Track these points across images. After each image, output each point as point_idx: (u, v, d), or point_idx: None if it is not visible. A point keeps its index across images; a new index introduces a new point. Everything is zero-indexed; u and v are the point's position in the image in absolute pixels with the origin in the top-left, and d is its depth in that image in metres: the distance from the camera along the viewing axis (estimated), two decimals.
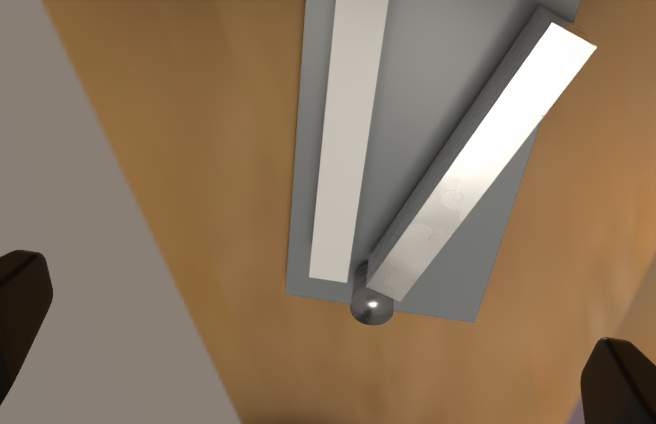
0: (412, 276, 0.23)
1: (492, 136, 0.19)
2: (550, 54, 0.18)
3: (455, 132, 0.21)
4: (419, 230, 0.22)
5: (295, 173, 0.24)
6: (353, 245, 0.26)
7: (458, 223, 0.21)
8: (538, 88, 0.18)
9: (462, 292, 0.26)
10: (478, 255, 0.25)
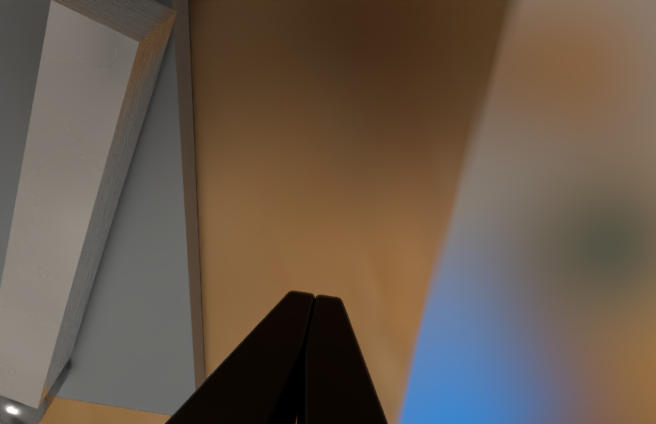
0: (36, 377, 0.16)
1: (47, 185, 0.12)
2: (72, 54, 0.10)
3: None
4: (14, 317, 0.15)
5: None
6: None
7: (61, 309, 0.14)
8: (79, 110, 0.11)
9: (167, 382, 0.19)
10: (168, 337, 0.18)
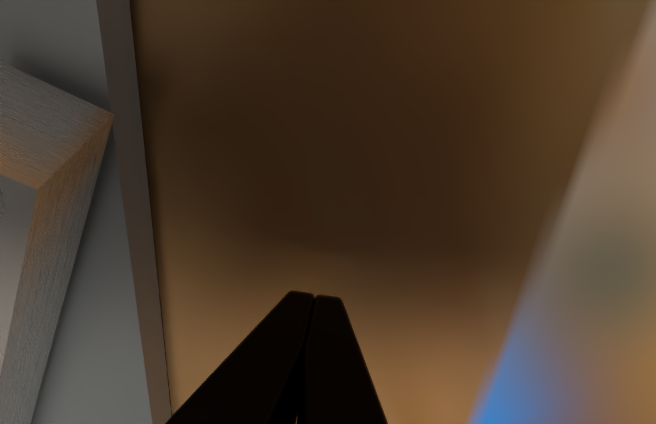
0: None
1: None
2: None
3: None
4: None
5: None
6: None
7: None
8: None
9: None
10: None
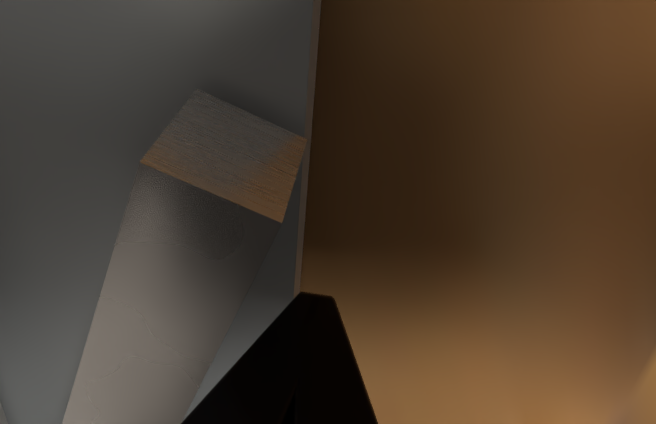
0: None
1: (115, 396, 0.08)
2: (168, 237, 0.06)
3: None
4: None
5: None
6: None
7: None
8: (172, 308, 0.07)
9: None
10: None
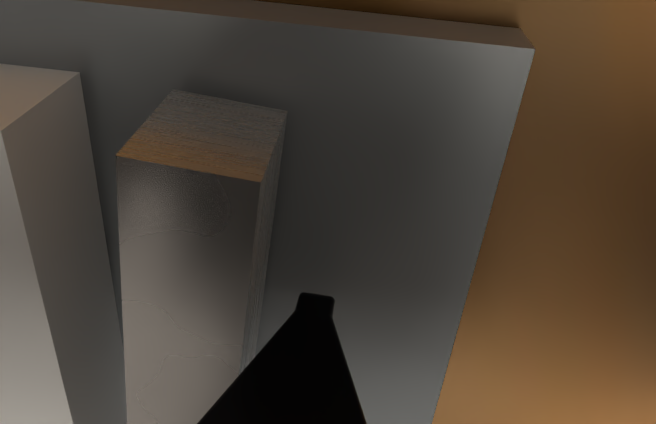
0: None
1: (166, 400, 0.08)
2: (164, 224, 0.07)
3: None
4: None
5: None
6: None
7: None
8: (189, 297, 0.07)
9: None
10: None
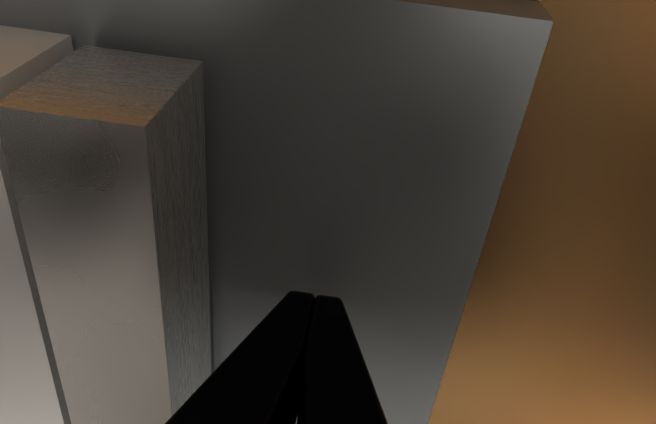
0: None
1: (98, 372, 0.08)
2: (56, 180, 0.06)
3: None
4: None
5: None
6: None
7: None
8: (98, 258, 0.07)
9: None
10: None
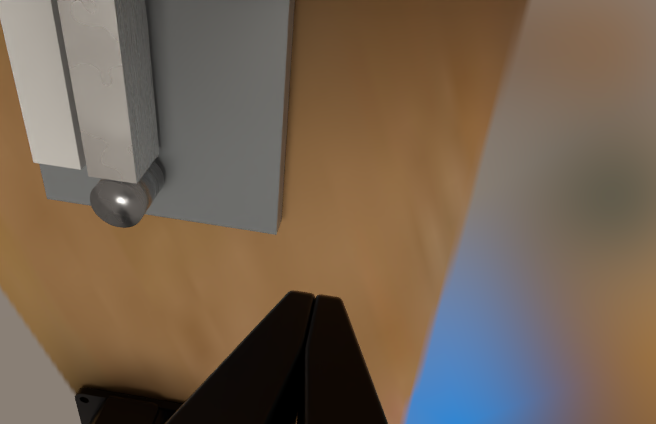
0: (124, 143, 0.18)
1: None
2: None
3: None
4: (85, 74, 0.17)
5: None
6: None
7: (116, 45, 0.16)
8: None
9: (252, 193, 0.21)
10: (259, 140, 0.20)
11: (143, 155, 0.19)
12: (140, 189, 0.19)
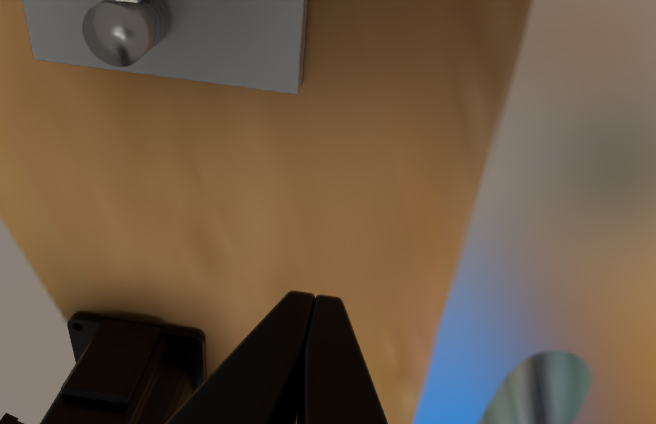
0: None
1: None
2: None
3: None
4: None
5: None
6: None
7: None
8: None
9: (271, 39, 0.18)
10: None
11: None
12: (141, 16, 0.16)
